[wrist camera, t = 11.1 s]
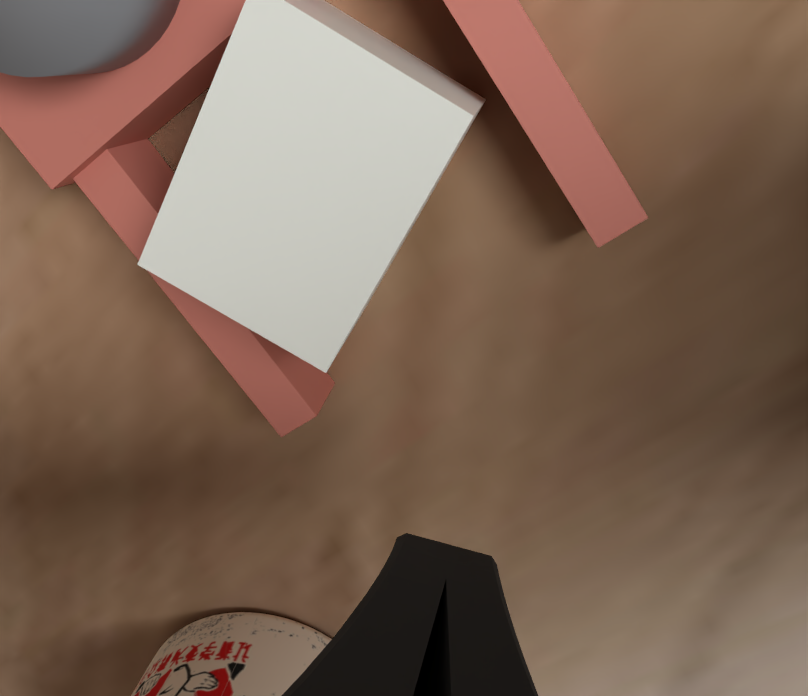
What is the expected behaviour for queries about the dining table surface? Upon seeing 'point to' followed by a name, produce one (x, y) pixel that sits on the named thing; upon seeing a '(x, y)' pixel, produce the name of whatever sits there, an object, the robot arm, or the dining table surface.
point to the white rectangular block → (305, 173)
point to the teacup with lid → (232, 657)
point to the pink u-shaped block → (189, 77)
